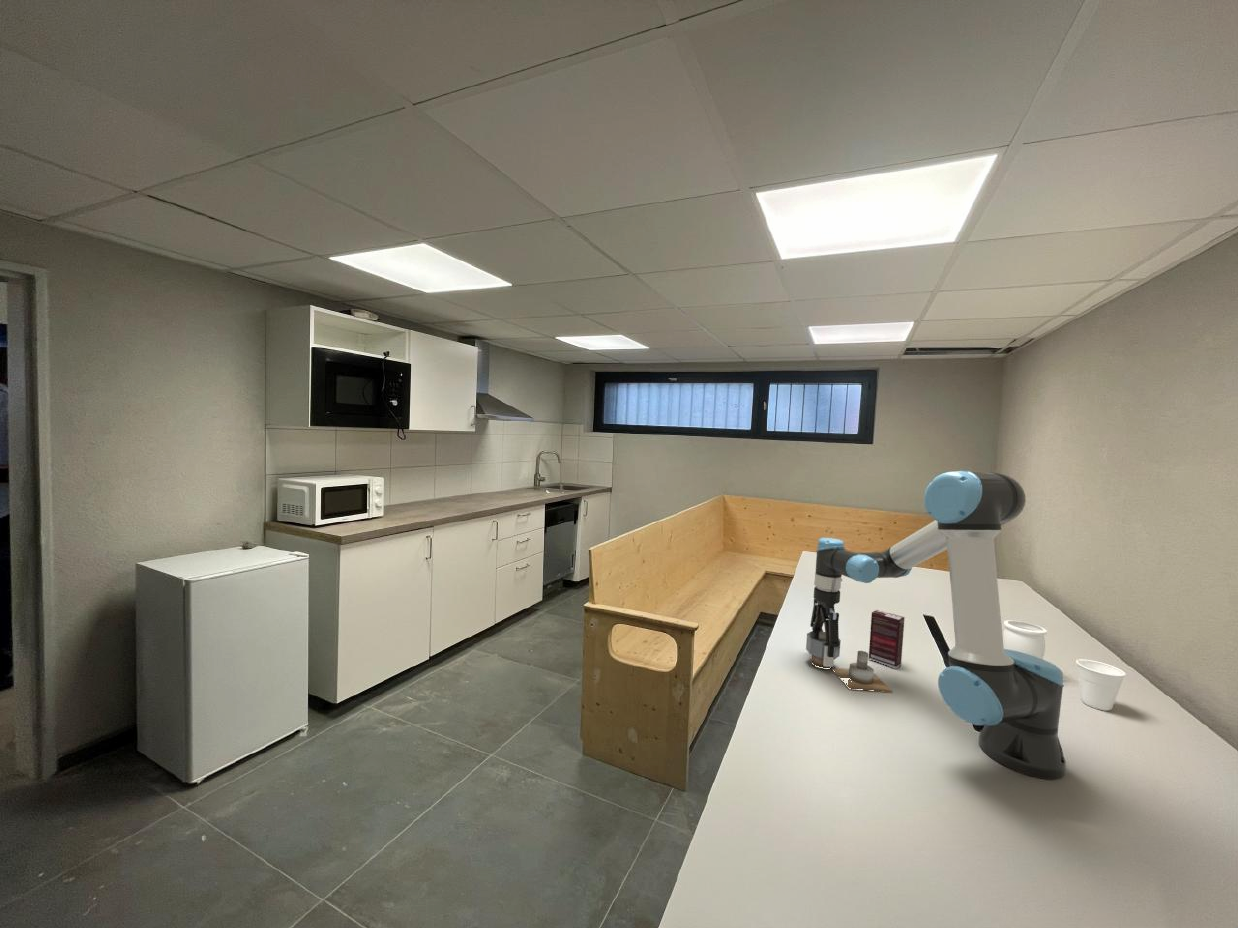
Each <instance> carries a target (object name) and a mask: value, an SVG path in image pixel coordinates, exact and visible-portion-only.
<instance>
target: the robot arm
mask: <svg viewBox="0 0 1238 928" xmlns="http://www.w3.org/2000/svg"><path fill="white" fill-rule="evenodd" d="M923 497H924V498H923V499H924V500H923V503H924V508H925V510H926V512H927V513H928V514H929V515H930V517H931V518H932V519H933V521H932V522H930V523H928V524H927V525H925V526H924V527H922V528H920V529H918V530H917V531H915V532H913V533H912V534H910V535H909V536H907V537H905V538H904V539H902V540H900V541H899V542H897V543H895V544H894V545H892V546H891V547H889V548H887V549H885V550H884V551H877V552H876V551H874V552H873V551H871V552H855V551H851V550H847V549H845V542H844V541H843V540H841V539H838V538H834V537H833V538H831V537H820V538H819V539H818V541H817V546H816V560H815V561H816V562H815V572H814V583H813V585H814V588H813V607H812V613H811V619H810V628H811V629H812V631H820V632H825V636H826V644H824V646H825V648H824V661H823V666H826V667H832V668H834V662H835V661H834V660H835V659H834V650H835V647H839V639H840V638H839V637H840V636H839V635H840V634H839V633H840V632H839V631H840V630H839V618H840V614H839V612H836V611H835V605H836V604H839V603H840V601H841V591H840V589H841V585H842V582H843V578H842V576H843V577H846V578H850V579H852V580H853V581H855V582H858V583H864V584H871V583H872V582H873V581H874V580H876V579H885V578H886V579H888V578H889V579H890V578H891V579H892V578H893V579H897V578H898V579H899V578H901V577H907V576H908V575H909V574H910V573H911V571H912V569H913V568H914V567H916V566H918V565H919V564H921V563H923V562H925V561H927V560H929V559H931V558H933V557H935V556H937V555H938V554H940V553H943V552H944V551H946V550H947V558H948V560H947V561H948V570H949V571H948V572H949V584H950V592H951V593H950V594H951V595H950V596H951V604H952V606H951V607H952V618H953V628H954V629H953V630H954V641H955V643H954V647H952V648H951V649H950V650H948V651H947V656H948V666H947V667H945V668H944V669H943V670H942V671H941V672H940V673H939V675H938V681H937V683H938V691H939V693H940V695H941V697H942V700H943V702H944V703H945V705H946V706H948V707H949V708H950V711H952V712H953V714H955V715H956V716H957V718H959V719H961V720H962V721H965V722H966V723H969V724H971V725H975V726H983V728H981V730H980V731H979V735H978V746H979V747H980V748H981V750H982V751H983V752H984V753H985V754H986V755H987V756H988V757H990V758H991V759H993V761H996V762H997V763H999V764H1001V765H1003V766H1005V767H1007V768H1008V769H1011V770H1013V771H1016V772H1018V773H1021V774H1023V773H1024V775H1026V774H1027V776H1031V777H1034V778H1038V779H1044V780H1045V779H1046V780H1058V779H1062V778H1063V777H1064V776H1065V775H1066V767H1067V763H1066V759H1065V757H1064V753H1063V749H1062V745H1061V741H1060V739H1059V738H1060V737H1059V723H1060V715H1061V706H1062V699H1063V698H1062V697H1063V688H1064V681H1063V680H1064V674H1063V671H1062V670H1061V668H1059V667H1058V666H1057V665H1055V664H1054V663H1052V662H1050V661H1047V660H1046V659H1040V658H1038V657H1035V656H1032V655H1029V654H1025V653H1022V652H1018V651H1013V650H1008V649H1004V645H1003V627H1002V614H1001V603H1000V595H999V584H998V574H997V573H998V572H997V562H996V553H995V550H996V549H995V541H994V539H995V538H996V537H997V536H998V535H999V534H1000V533H1002V526H1003V525H1006V524H1007V523H1010V522H1012V521H1014V520H1015V519H1016V518H1017V517H1018V516H1019V515H1020V514H1021V513H1022V512H1023V511H1024V508H1025V506H1026V503H1027V502H1026V501H1027V500H1026V499H1027V498H1026V493H1025V491H1024V489H1023V486H1022V485H1021V484H1020V483H1019V482H1018V481H1017V480H1015V479H1014V478H1013V477H1011V476H1009V475H1007V474H1003V473H1000V472H990V471H989V472H986V471H984V472H983V471H970V470H958V471H947V472H944V473H941V474H939V475H937V476H935V478H933V479H932V481H930V483H928V486H927V487H926V489H925V492H924V496H923ZM823 626H824V629H823ZM1061 777H1062V778H1061Z"/></svg>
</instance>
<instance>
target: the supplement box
mask: <svg viewBox="0 0 1238 928" xmlns="http://www.w3.org/2000/svg"><path fill="white" fill-rule="evenodd" d="M870 617H871V619H870V633H869V634H870V635H869V647H868V648H869V649H868V660H869V659H871V660H874V661H876V662H875V663H877V662H879V663H878V664H880V663H881V664H880V665H883V664H884V665H883V666H885V665H887V666H886V667H888V666H889V667H888V668H891V667H892V668H891V669H895V670H898V669H899V668H900V667H901V666H902V659H903V643H904V630H905V616H902V615H898V614H896V613H895V614H894V613H889V612H887V611H883V610H879V609H876V610H874V611H872V612H871V616H870ZM871 660H870V661H871ZM874 661H873V662H874ZM899 666H900V667H899Z"/></svg>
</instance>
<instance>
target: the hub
mask: <svg viewBox="0 0 1238 928" xmlns="http://www.w3.org/2000/svg"><path fill="white" fill-rule="evenodd" d="M856 655H857V656H856V662H851V663H850V664H849V668H835V667H832V668H831V670H832V669H833V670H834V671H835V673H836V674H837V675H838V676H839V677H840V678H850V679H851V680H850V679H849V680H848V685H847V683H846V685H847V686H848V687H849V688H851V689H863V690H874V691H884V692H883V693H886V692H892V693H893V689H891V688H890V687H889V686H888V685H887V684H886V683H885V682H884V681H883V680H882V679H881V678H880V677H879V676H877V674H876V673H875V670H874V668H873V667H872V666H870V665H868V663H869V652H867V651H864V650H858V651H857V654H856ZM835 673H834V674H835ZM836 674H835V675H836ZM837 675H836V676H837ZM843 681H844V680H843ZM851 681H852V682H851Z"/></svg>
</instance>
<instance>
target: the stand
mask: <svg viewBox="0 0 1238 928" xmlns="http://www.w3.org/2000/svg"><path fill="white" fill-rule="evenodd" d="M819 638H820V639H823V640H826V636H825V631H823V632H819ZM823 661H824V659H822V658H819V657H816V656H814V655H811V661H810V663H811V662H812V663H813V664H814V665H816V666H819V667H823V668H830V667H826V666H823Z"/></svg>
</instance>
